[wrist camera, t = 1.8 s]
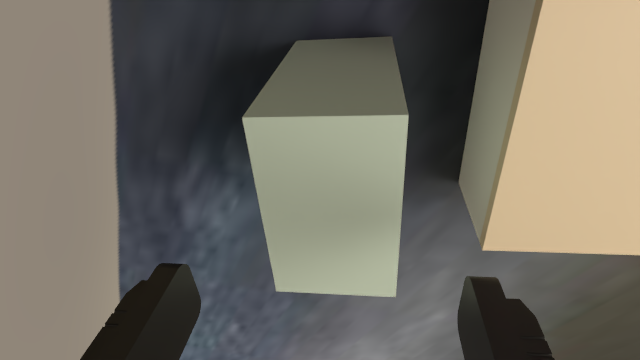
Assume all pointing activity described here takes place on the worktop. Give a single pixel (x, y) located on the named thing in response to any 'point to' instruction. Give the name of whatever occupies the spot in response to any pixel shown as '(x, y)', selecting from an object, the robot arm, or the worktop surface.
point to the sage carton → (331, 166)
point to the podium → (556, 128)
